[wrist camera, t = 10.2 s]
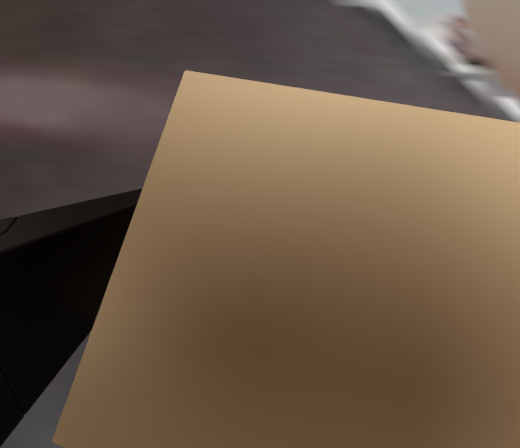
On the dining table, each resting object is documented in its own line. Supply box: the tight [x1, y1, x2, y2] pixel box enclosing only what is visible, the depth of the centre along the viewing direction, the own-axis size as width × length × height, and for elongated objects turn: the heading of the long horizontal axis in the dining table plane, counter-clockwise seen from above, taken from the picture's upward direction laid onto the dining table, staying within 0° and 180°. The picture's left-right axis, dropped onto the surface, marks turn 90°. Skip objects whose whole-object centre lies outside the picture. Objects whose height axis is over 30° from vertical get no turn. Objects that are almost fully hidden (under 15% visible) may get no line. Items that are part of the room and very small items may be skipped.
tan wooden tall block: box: [52, 70, 520, 448], centre depth 10 cm, size 5×5×13 cm
